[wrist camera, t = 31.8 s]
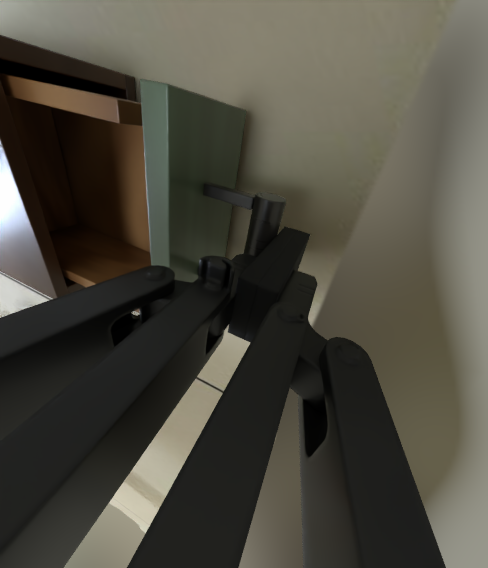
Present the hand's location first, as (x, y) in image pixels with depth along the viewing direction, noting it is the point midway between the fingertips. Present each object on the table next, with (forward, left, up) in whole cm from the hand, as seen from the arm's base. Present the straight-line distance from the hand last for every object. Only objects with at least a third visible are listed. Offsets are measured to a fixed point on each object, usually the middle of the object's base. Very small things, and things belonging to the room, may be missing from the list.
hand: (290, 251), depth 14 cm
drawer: (+7, -8, -2) cm, 11 cm away
